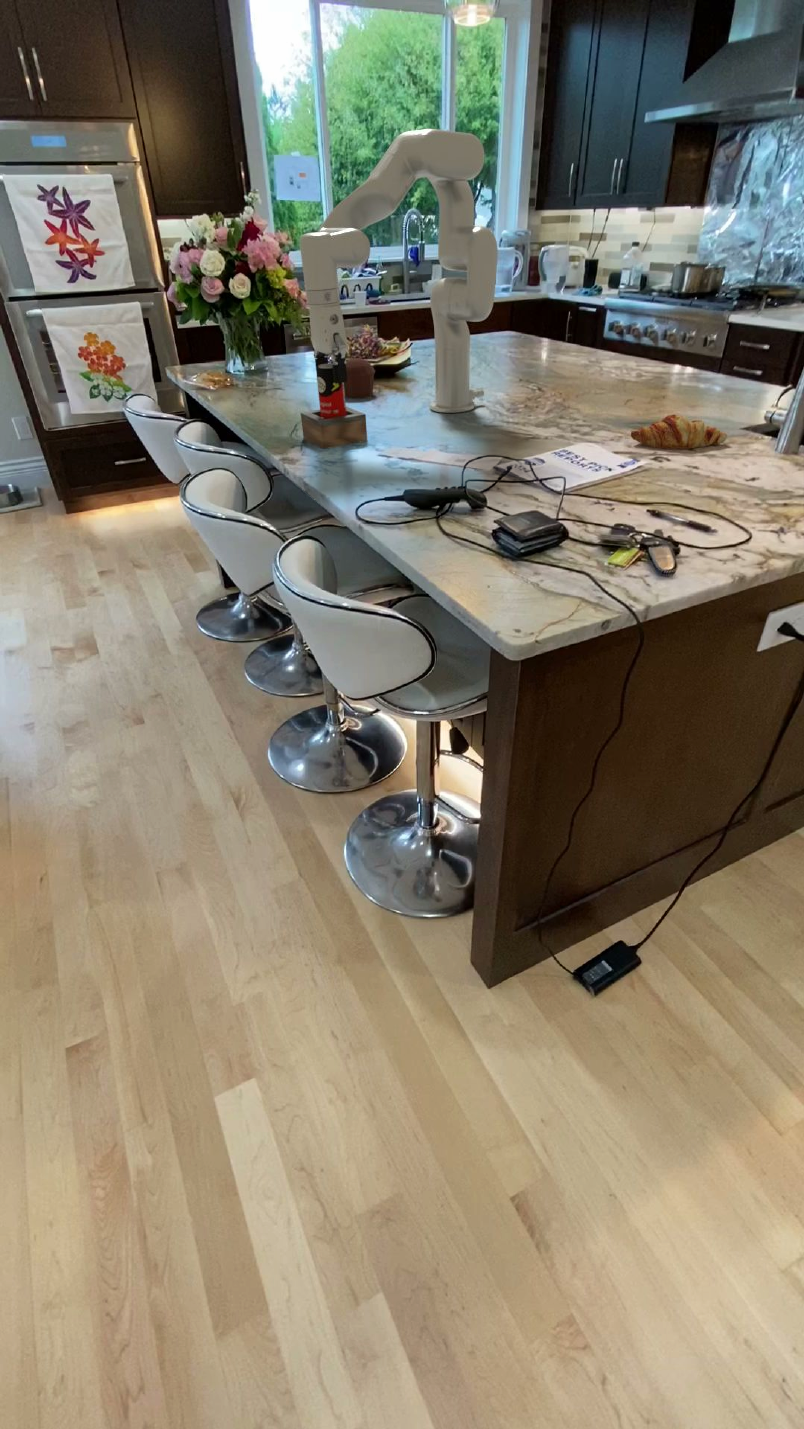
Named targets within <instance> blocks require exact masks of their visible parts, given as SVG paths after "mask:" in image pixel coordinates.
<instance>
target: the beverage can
mask: <svg viewBox="0 0 804 1429" xmlns="http://www.w3.org/2000/svg"><path fill="white" fill-rule="evenodd" d="M332 365H334V363H332V362H331V363H330V362H328V364H321V365H319V366H318V367H319V369H318V372H317V373H316V381H317V391H318V393H317V394H318V401H319V410H320V413H321V416H322V417H323V418H324V419H329V418H335V417H341V416H345V415H346V407H347V406H346V397H345V392H344V382H343V383H337V384H336V383H334V376H333V366H332Z"/></svg>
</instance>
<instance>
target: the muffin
mask: <svg viewBox="0 0 804 1429" xmlns="http://www.w3.org/2000/svg"><path fill="white" fill-rule="evenodd" d="M346 372H347V382H344V392H345V398H347V399H348V398H350V399H364V398H368V397H371V396H373V394H374V393H373V392H374V384H375V381H374V380H375V373H376V370H375V368H374V366H373V365H372V364H371V363H370V362H369V361H367V360H366V359H364V358H360V357H355V358H349V359H346Z"/></svg>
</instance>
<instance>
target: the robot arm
mask: <svg viewBox="0 0 804 1429" xmlns="http://www.w3.org/2000/svg"><path fill="white" fill-rule="evenodd" d="M484 163H485V150H484V145H483V144H482V141H481V140H480V139H479V137H477V135H474V134H472V133H469V132H460V131H451V130H444V129H436V128H426V129H420V130H419V129H418V130H410V131H405V132H402V133H401V134H399V135H398V136H396V137H395V139H394V140H393V141H392V142H391V144H390V145H389V147H388V148H387V150H386V151H385V153H384V154H383V155H382V157H381V159H380V160H379V161H378V163H377V164H376V166H375V167H374V169H373V170H372V172H371V173H370V175H369V176H368V178H367V179H366V180H365V181H363V183H362V184H361V185H359V186H358V187H357V188H356V189H354V190H353V191H352V192H351V193H349V194H348V196H346V197H345V198H344V199H342V200H341V201H340V202H339V203H338V204H337V205H336V206H335V207H334V208H333V209H332V210H331V211H330V213H329V214H327V217H326V218H325V219H324V221H323V223H322V224H321V225H320V226H319V228H318V230H317V232H314V231H313V232H308V233H307V232H306V233H304V234H302V235H300V239H299V247H300V256H301V258H300V259H301V263H302V264H301V265H302V272H303V280H304V282H303V283H304V289H305V297H306V307H308V308H309V324H310V325H309V326H310V341H311V344H312V348H311V349H312V351H313V358H314V363H315V371H316V374H317V372H318V369H319V367H318V366H319V365H321V364H328V363H329V357H328V356H330V358H331V360H332V362H333V363H334V365H332V366H333V376H334V383H336V384H337V383H343V382H347V372H346V361H347V356H348V355H347V351H348V344H347V335H346V330H345V329H346V328H345V322H344V321H345V320H344V316H343V311H342V308H341V297H340V289H339V288H340V287H339V275H338V269H339V268H342V269H356V268H359V267H361V266H363V265H364V264H365V263H366V262H367V261H368V259H369V257H370V254H371V243H370V240H369V238H368V236H367V235H366V234H365V233H364V232H363V231H362V230H363V229H365V228H367V227H369V226H371V225H373V224H376V223H378V222H381V221H382V220H384V219H387V217H389V216H391V215H393V213H394V212H396V210H397V209H398V207H399V206H400V204H401V203H402V201H403V199H404V198H405V197H406V195H407V194H408V192H409V191H410V189H411V188H412V187H413V185H414V184H415V182H416V181H417V180H418V179H420V178H427V180H428V181H429V182H430V184H431V185H432V187H433V189H434V191H435V194H436V196H437V199H438V204H439V217H438V218H439V220H438V221H439V223H438V245H437V246H438V248H437V251H438V252H437V254H438V256H437V257H438V261H439V265H440V266H441V267H442V268H443V269H445V270H448V271H453V272H466V277H459V276H457V277H455V276H453V277H452V276H451V277H444V278H441V279H439V280H438V281H437V282H435V284H434V285H433V287H432V289H431V292H430V298H429V302H430V309H431V315H432V320H433V326H434V327H433V328H434V332H433V333H434V384H435V385H434V386H435V387H434V390H435V393H434V394H435V400H433V401H431V403H430V404H429V409H430V410H431V411H434V412H437V413H446V414H450V413H452V414H453V413H463V412H469V411H472V410H473V409H474V408H475V406H476V403H475V401H473V400H475V399H477V398H482V397H484V396H485V391H484V389H477V390H474V389H473V388H471V387H470V378H471V377H470V376H471V375H470V374H471V372H470V371H471V370H470V369H471V333H470V330H469V326H468V324H467V322H474V323H475V322H482V321H484V320H486V319H487V318H488V317H489V315H490V314H491V312H492V310H493V307H494V301H495V294H496V281H497V269H498V257H499V256H498V255H499V254H498V253H499V252H498V251H499V250H498V243H497V239H496V237H495V234H494V232H493V231H492V230H491V229H490V228H488V227H486V226H482V225H481V226H480V225H474V222H475V221H474V220H475V219H474V218H475V215H474V214H475V199H474V194H473V191H472V188H471V186H470V184H469V182H468V181H471V180H474V179H475V178H476V177H478V175H479V174H480V173H481V171H482V169H483V167H484Z"/></svg>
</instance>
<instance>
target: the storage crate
mask: <svg viewBox="0 0 804 1429" xmlns="http://www.w3.org/2000/svg"><path fill="white" fill-rule="evenodd" d="M300 421H301V426H302V427H301V428H302V437H303V439H304V440H305V441H308V442H309V443H311V444H314V445H315V446H317V447H318V448H320V449H323V450H326V449H331V448H336V447H342V446H347V445H352V444H357V443H362V442H367V441H368V433H367V432H368V431H367V416H366V414H365V413H363V412H361V411H358V410H356V409H353V408H352V407H349V406H346V415H345V416H341V417H335V418H329V419H324V418H323V417H322V416H321V413H320V409H315V410H308V411H303V412H300Z"/></svg>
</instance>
